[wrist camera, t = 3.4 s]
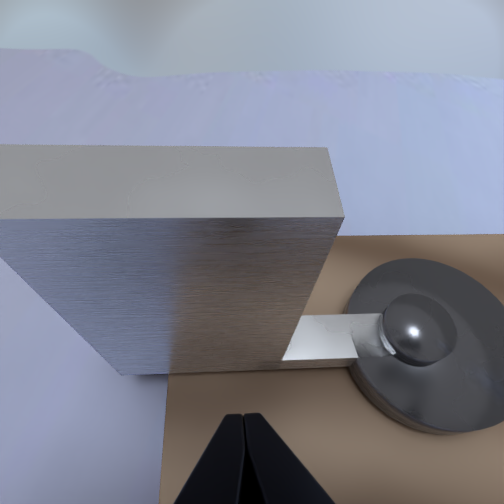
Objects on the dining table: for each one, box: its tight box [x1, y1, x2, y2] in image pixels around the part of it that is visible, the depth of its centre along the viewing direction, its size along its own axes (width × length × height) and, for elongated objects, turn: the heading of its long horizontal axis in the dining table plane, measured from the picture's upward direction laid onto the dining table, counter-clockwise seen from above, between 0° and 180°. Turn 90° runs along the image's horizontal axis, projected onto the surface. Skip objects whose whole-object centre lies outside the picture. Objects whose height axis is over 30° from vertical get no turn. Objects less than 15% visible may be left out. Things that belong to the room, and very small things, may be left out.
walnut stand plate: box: [159, 234, 504, 504], centre depth 17 cm, size 18×22×2 cm
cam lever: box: [0, 144, 504, 435], centre depth 12 cm, size 18×8×11 cm, turn 93°
